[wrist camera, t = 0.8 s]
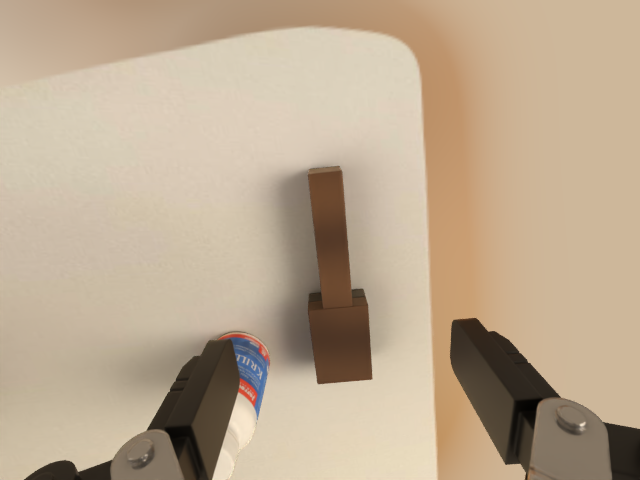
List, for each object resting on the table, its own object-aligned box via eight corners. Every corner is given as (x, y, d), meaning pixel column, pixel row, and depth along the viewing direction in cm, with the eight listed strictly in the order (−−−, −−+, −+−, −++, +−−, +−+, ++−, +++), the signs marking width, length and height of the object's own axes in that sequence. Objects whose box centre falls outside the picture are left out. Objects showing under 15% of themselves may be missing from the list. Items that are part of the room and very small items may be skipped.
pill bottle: (278, 340, 27) (259, 447, 18) (260, 386, 29) (234, 505, 20) (217, 321, 27) (165, 423, 18) (202, 369, 28) (147, 485, 19)
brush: (367, 357, 28) (372, 379, 26) (317, 362, 28) (317, 384, 26) (355, 164, 23) (360, 168, 20) (292, 170, 23) (289, 175, 20)
